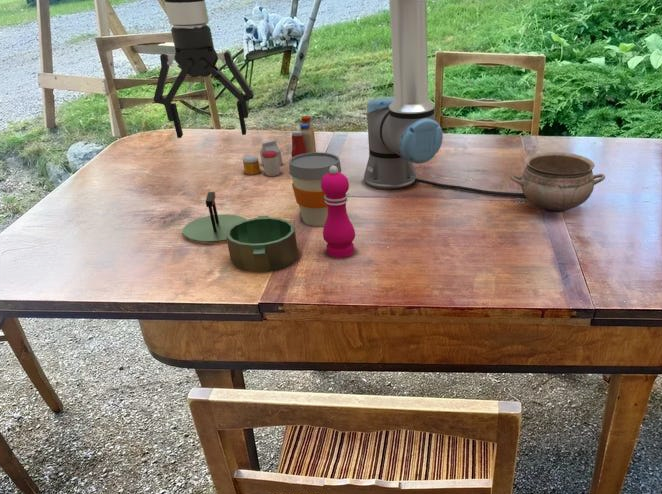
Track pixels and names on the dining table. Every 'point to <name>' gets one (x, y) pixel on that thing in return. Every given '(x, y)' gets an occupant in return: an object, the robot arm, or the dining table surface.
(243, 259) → the pot
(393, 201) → the dining table surface
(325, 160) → the reusable coffee cup
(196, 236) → the lid
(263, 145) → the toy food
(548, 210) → the cooking pot
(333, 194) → the pepper mill
